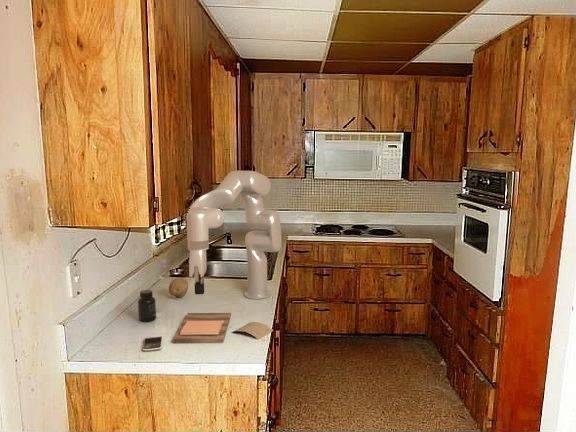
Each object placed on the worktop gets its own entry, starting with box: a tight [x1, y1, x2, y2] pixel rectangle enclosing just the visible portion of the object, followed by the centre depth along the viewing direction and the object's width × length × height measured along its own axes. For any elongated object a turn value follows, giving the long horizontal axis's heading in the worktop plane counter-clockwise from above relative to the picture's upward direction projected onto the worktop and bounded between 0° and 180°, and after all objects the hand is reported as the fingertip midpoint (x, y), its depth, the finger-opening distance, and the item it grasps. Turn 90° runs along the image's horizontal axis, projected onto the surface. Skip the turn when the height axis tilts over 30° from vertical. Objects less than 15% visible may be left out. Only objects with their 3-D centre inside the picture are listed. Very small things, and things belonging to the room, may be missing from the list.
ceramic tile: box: [180, 321, 223, 334], centre depth 164 cm, size 13×14×1 cm
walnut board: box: [172, 312, 232, 344], centre depth 168 cm, size 26×18×2 cm
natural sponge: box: [168, 277, 189, 299], centre depth 203 cm, size 9×9×10 cm
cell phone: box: [142, 336, 163, 353], centre depth 154 cm, size 6×11×1 cm, turn 14°
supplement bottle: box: [137, 289, 157, 323], centre depth 177 cm, size 7×7×12 cm
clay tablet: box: [232, 321, 274, 340], centre depth 165 cm, size 14×10×3 cm
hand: (199, 293), depth 158 cm, fingers closed
